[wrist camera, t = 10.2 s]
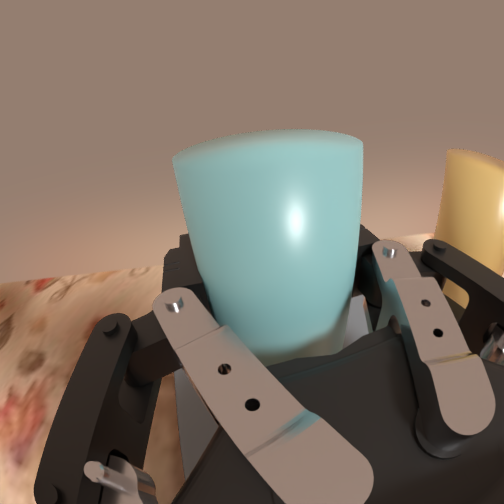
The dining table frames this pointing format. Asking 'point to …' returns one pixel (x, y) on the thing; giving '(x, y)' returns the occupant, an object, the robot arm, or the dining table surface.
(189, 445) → the card
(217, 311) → the teal tube
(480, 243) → the amber tube
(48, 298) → the dining table surface
